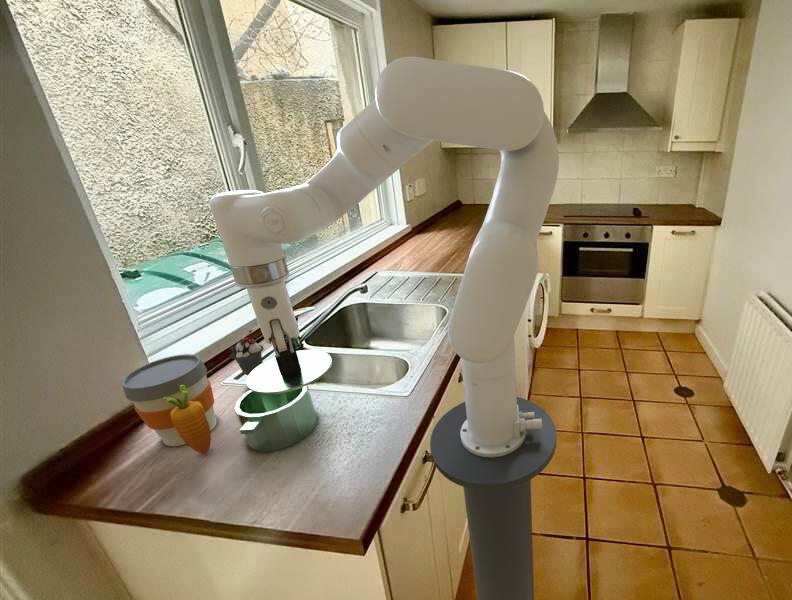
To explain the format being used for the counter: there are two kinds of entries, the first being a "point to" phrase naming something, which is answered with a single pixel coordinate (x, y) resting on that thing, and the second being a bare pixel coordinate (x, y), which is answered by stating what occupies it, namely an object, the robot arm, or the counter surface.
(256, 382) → the lid
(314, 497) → the counter surface
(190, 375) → the reusable coffee cup
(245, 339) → the sundae
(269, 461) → the counter surface
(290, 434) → the pot
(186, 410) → the carrot
